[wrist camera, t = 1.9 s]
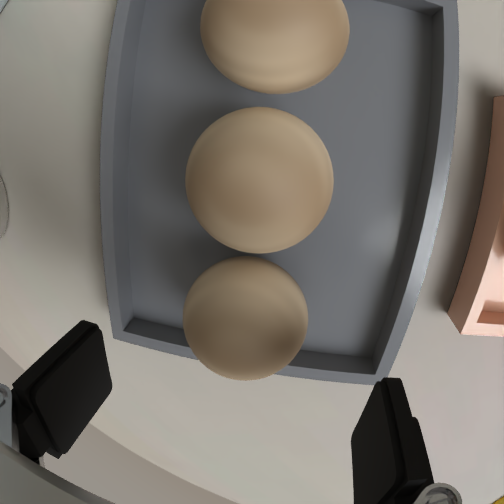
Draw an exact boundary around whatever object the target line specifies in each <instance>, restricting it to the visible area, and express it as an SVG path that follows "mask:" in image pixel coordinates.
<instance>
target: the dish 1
mask: <svg viewBox="0 0 504 504" xmlns="http://www.w3.org/2000/svg"><path fill="white" fill-rule="evenodd" d="M205 2H206V0H118V2H117V6H116V11H115V17H114V22H113V27H112V33H111V39H110V46H109V53H108V60H107V68H106V76H105V85H104V96H103V108H102V123H101V144H100V210H101V232H102V247H103V260H104V271H105V281H106V290H107V298H108V306H109V313H110V320H111V327H112V333H113V338H114V339H117V340H121V341H124V342H128V343H131V344H135V345H139V346H142V347H146V348H150V349H154V350H158V351H162V352H166V353H170V354H174V355H178V356H182V357H187V358H191V359H196V360H198V358H197V357H196V356H195V355H194V353H193V352H192V350H191V348H190V346H189V344H188V342H187V340H186V337H185V333H184V329H183V308H184V303H185V300H186V297H187V294H188V292H189V290H190V288H191V287H192V285H193V283H194V282H195V281H196V279H197V278H198V277H199V276H200V275H201V274H202V273H203V272H204V271H205V270H206V269H208V268H209V267H211V266H212V265H214V264H216V263H218V262H220V261H222V260H225V259H228V258H233V257H239V256H252V257H258V258H263V259H266V260H268V261H271V262H273V263H275V264H277V265H278V266H280V267H282V268H283V269H284V270H285V271H287V272H288V273H289V274H290V275H291V276H292V277H293V279H294V280H295V281H296V282H297V284H298V285H299V287H300V289H301V291H302V293H303V295H304V297H305V300H306V304H307V309H308V327H307V333H306V336H305V340H304V342H303V344H302V346H301V348H300V350H299V352H298V353H297V354H296V356H295V357H294V359H293V360H292V361H291V362H290V363H289V364H288V365H286V366H285V367H284V368H283V369H281V370H280V371H278V372H276V373H274V374H277V375H283V376H290V377H298V378H305V379H314V380H322V381H331V382H341V383H352V384H365V385H375V383H376V382H377V381H381V380H382V379H383V378H384V377H388V374H389V372H390V370H391V368H392V365H393V363H394V361H395V358H396V356H397V353H398V351H399V348H400V346H401V343H402V341H403V338H404V336H405V333H406V330H407V328H408V325H409V322H410V319H411V317H412V314H413V311H414V308H415V305H416V302H417V299H418V296H419V293H420V290H421V287H422V284H423V280H424V277H425V274H426V270H427V267H428V263H429V260H430V256H431V253H432V249H433V245H434V241H435V237H436V233H437V229H438V225H439V220H440V216H441V211H442V207H443V202H444V197H445V192H446V187H447V181H448V175H449V169H450V163H451V156H452V149H453V141H454V133H455V124H456V113H457V100H458V82H459V26H458V9H457V0H342V2H343V4H344V6H345V8H346V11H347V14H348V19H349V25H350V34H349V41H348V45H347V49H346V52H345V54H344V56H343V58H342V60H341V61H340V63H339V64H338V66H337V67H336V68H335V69H334V70H333V71H332V72H331V74H330V75H328V76H327V77H326V78H325V79H324V80H322V81H321V82H319V83H317V84H316V85H314V86H311V87H309V88H307V89H304V90H301V91H298V92H293V93H287V94H267V93H260V92H256V91H253V90H250V89H247V88H244V87H242V86H240V85H238V84H236V83H234V82H232V81H231V80H230V79H228V78H227V77H225V76H224V75H223V74H222V73H221V72H220V71H219V70H218V69H217V68H216V67H215V66H214V64H213V63H212V62H211V60H210V59H209V57H208V55H207V53H206V51H205V49H204V46H203V43H202V39H201V33H200V22H201V14H202V10H203V7H204V5H205ZM250 107H268V108H274V109H278V110H282V111H285V112H288V113H290V114H292V115H294V116H296V117H298V118H299V119H301V120H302V121H304V122H305V123H306V124H307V125H309V126H310V127H311V128H312V129H313V130H314V131H315V132H316V133H317V135H318V136H319V137H320V139H321V140H322V142H323V143H324V145H325V147H326V149H327V151H328V154H329V157H330V159H331V163H332V168H333V177H334V185H333V193H332V198H331V202H330V205H329V207H328V210H327V212H326V214H325V216H324V217H323V219H322V220H321V222H320V223H319V225H318V226H317V227H316V228H315V229H314V230H313V231H312V233H311V234H310V235H308V236H307V237H306V238H305V239H303V240H302V241H300V242H299V243H297V244H295V245H293V246H291V247H289V248H287V249H284V250H280V251H277V252H271V253H259V254H257V253H247V252H242V251H238V250H236V249H233V248H230V247H228V246H226V245H224V244H222V243H221V242H219V241H217V240H216V239H215V238H213V237H212V236H211V235H210V234H209V233H208V232H207V231H206V230H205V229H204V228H203V227H202V226H201V225H200V223H199V222H198V220H197V219H196V217H195V215H194V214H193V212H192V209H191V207H190V205H189V202H188V198H187V194H186V186H185V175H186V167H187V163H188V159H189V156H190V153H191V151H192V148H193V146H194V145H195V143H196V141H197V140H198V138H199V137H200V136H201V134H202V133H203V132H204V131H205V130H206V129H207V128H208V127H209V126H210V125H211V124H212V123H214V122H215V121H216V120H218V119H219V118H221V117H223V116H225V115H226V114H228V113H231V112H233V111H236V110H240V109H244V108H250Z"/></svg>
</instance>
